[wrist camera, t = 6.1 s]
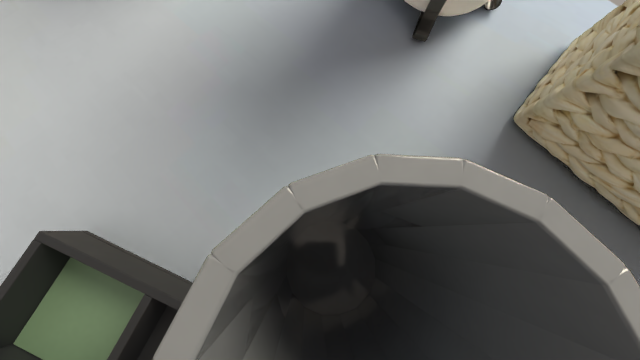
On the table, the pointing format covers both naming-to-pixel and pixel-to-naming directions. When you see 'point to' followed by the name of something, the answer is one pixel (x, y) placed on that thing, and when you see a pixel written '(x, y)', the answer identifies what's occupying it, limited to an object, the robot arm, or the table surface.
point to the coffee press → (444, 12)
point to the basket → (595, 108)
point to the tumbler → (408, 274)
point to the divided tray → (85, 301)
